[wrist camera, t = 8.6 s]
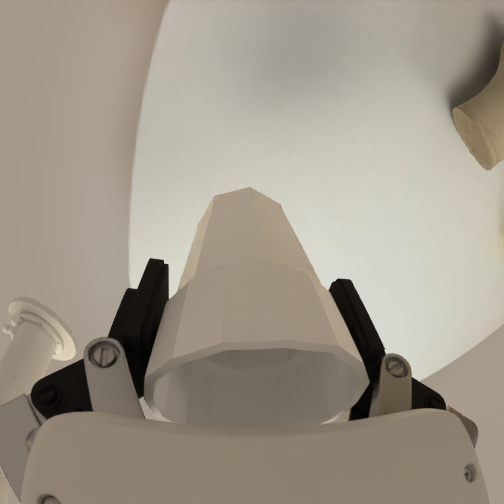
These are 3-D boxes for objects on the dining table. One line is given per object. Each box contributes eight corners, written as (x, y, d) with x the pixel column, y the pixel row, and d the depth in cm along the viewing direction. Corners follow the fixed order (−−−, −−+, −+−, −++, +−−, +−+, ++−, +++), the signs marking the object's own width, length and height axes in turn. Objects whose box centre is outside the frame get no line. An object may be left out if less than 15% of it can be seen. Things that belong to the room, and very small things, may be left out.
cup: (164, 220, 16) (100, 390, 7) (256, 151, 14) (305, 288, 5) (232, 290, 19) (237, 451, 10) (317, 238, 17) (389, 397, 8)
